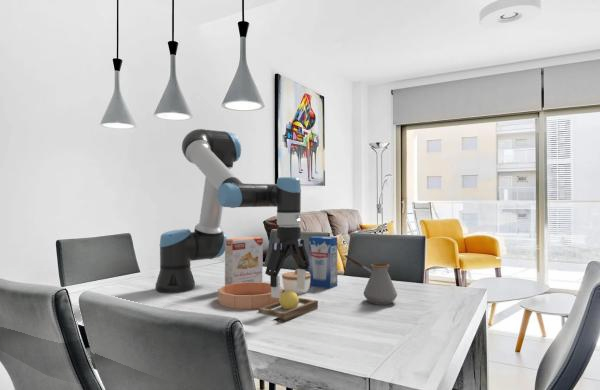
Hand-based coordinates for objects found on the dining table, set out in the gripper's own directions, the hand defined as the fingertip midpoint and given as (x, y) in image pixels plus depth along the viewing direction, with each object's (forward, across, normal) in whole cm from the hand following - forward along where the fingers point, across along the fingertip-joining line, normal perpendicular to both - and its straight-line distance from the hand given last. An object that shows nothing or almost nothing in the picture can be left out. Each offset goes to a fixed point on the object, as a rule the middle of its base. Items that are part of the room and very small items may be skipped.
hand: (288, 293), depth 128 cm
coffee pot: (+6, +29, -14) cm, 33 cm away
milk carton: (+6, +39, +11) cm, 41 cm away
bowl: (+6, 0, +16) cm, 17 cm away
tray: (+6, 0, 0) cm, 6 cm away
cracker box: (+7, +12, +30) cm, 33 cm away
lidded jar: (+6, +20, +11) cm, 24 cm away
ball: (+5, 0, 0) cm, 5 cm away
